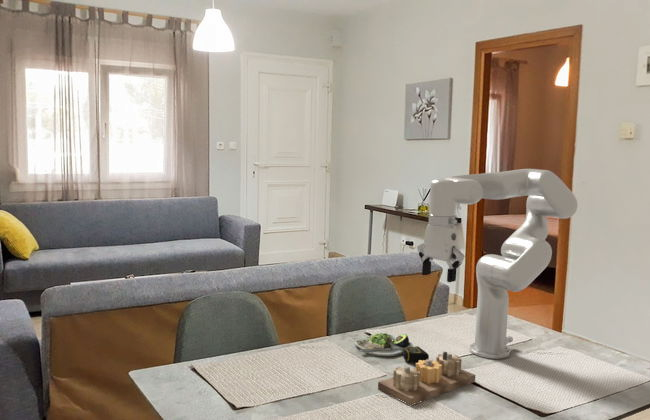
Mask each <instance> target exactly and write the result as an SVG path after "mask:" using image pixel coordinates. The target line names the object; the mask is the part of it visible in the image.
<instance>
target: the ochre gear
mask: <svg viewBox="0 0 650 420" xmlns="http://www.w3.org/2000/svg"><path fill="white" fill-rule="evenodd" d="M431 361H432V366H431V367H430V366H426V360H423V361H422V360H419V361H418V363H415V368H416V369H417V372H420V382H422V381H423V382H427V383H429V384H431V383H434V382H435V383H438V382H439V380H441V371H442V365H441V364H439V362H437V361H436V360H431Z"/></svg>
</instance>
